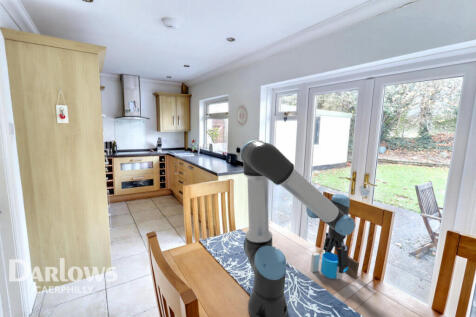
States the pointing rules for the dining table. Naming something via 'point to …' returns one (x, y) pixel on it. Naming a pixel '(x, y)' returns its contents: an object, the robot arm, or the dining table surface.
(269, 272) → the robot arm
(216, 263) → the dining table surface
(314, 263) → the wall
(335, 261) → the mug
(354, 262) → the dark brown rectangular slab
